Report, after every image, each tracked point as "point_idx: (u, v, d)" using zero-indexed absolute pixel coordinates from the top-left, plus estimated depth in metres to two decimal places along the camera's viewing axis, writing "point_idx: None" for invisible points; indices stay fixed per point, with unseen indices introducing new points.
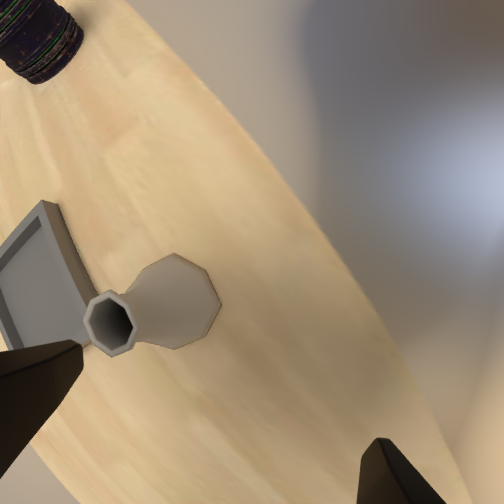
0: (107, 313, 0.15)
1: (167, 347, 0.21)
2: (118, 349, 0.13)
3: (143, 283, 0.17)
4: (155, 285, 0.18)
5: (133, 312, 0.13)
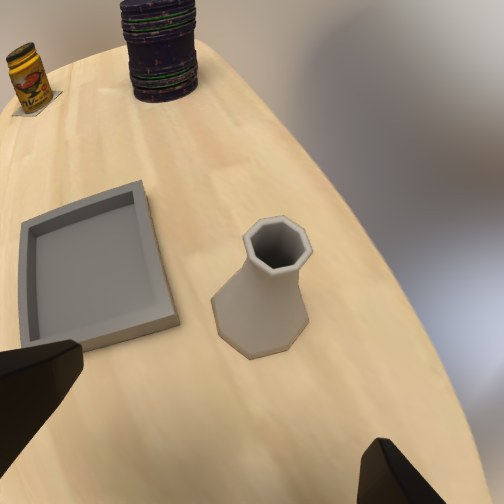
0: None
1: (253, 347, 0.20)
2: (283, 267, 0.14)
3: (274, 254, 0.19)
4: (282, 261, 0.19)
5: None
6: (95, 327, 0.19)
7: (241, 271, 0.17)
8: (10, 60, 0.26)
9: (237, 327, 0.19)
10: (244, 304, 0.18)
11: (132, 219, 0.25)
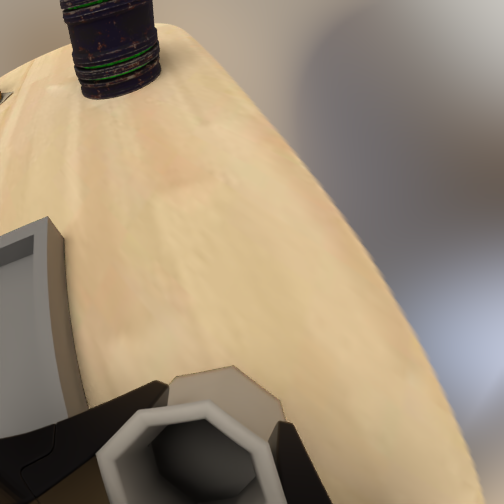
0: (147, 445, 0.06)
1: None
2: None
3: (221, 401, 0.08)
4: (239, 409, 0.09)
5: (275, 466, 0.04)
6: None
7: None
8: None
9: None
10: (166, 481, 0.07)
11: None
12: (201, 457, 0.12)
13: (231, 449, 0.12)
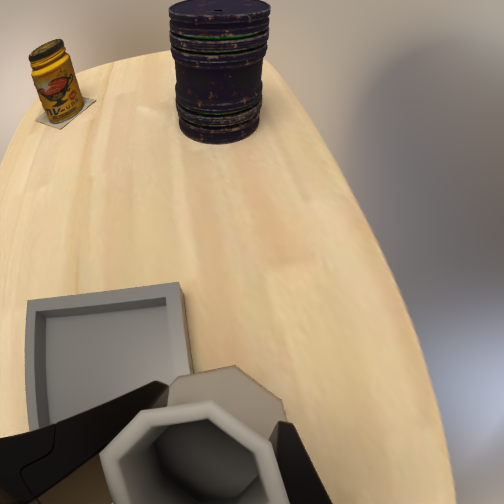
0: (150, 445, 0.06)
1: None
2: None
3: (223, 401, 0.08)
4: (241, 409, 0.09)
5: (277, 465, 0.04)
6: None
7: (150, 445, 0.07)
8: (32, 60, 0.24)
9: None
10: (169, 481, 0.07)
11: (163, 329, 0.21)
12: (202, 457, 0.12)
13: (233, 449, 0.12)
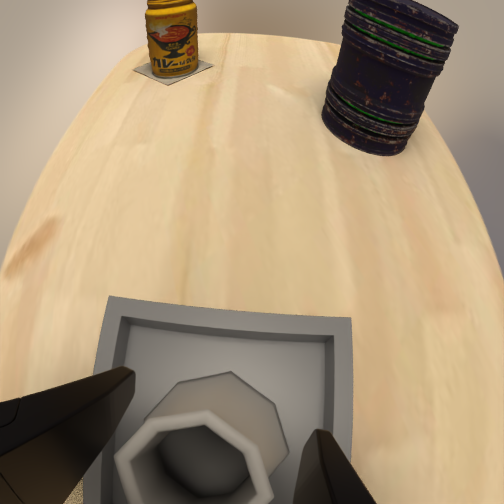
0: (155, 447, 0.06)
1: None
2: None
3: (219, 406, 0.09)
4: (236, 413, 0.09)
5: (263, 464, 0.05)
6: None
7: None
8: None
9: None
10: (171, 479, 0.08)
11: (313, 373, 0.15)
12: (202, 456, 0.13)
13: (230, 449, 0.13)
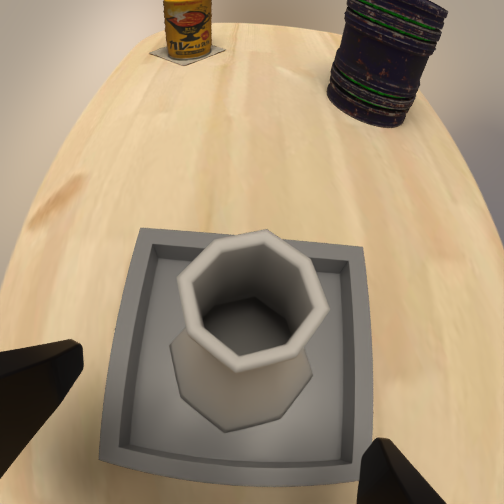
0: (204, 303, 0.08)
1: (227, 423, 0.12)
2: (263, 353, 0.06)
3: (256, 291, 0.11)
4: (270, 302, 0.11)
5: None
6: (248, 472, 0.11)
7: None
8: None
9: (201, 398, 0.12)
10: (205, 376, 0.10)
11: (330, 300, 0.17)
12: None
13: None
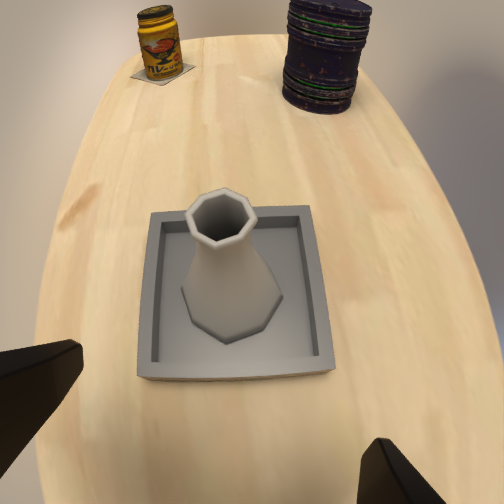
0: (199, 232, 0.16)
1: (225, 330, 0.19)
2: (227, 238, 0.13)
3: (230, 231, 0.18)
4: None
5: None
6: (244, 366, 0.18)
7: (196, 252, 0.17)
8: (143, 18, 0.30)
9: (205, 311, 0.19)
10: (205, 286, 0.17)
11: (291, 246, 0.24)
12: None
13: None
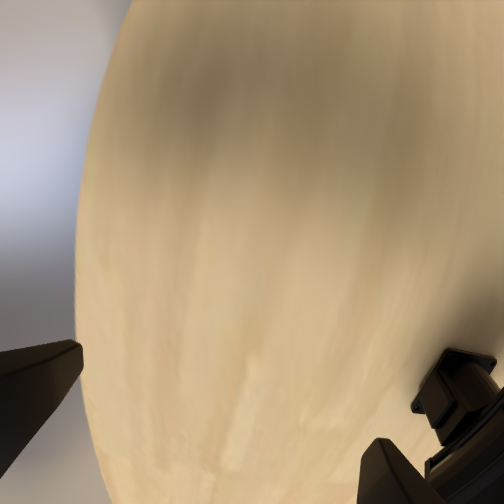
0: None
1: None
2: None
3: None
4: None
5: None
6: None
7: None
8: None
9: None
10: None
11: None
12: None
13: None
